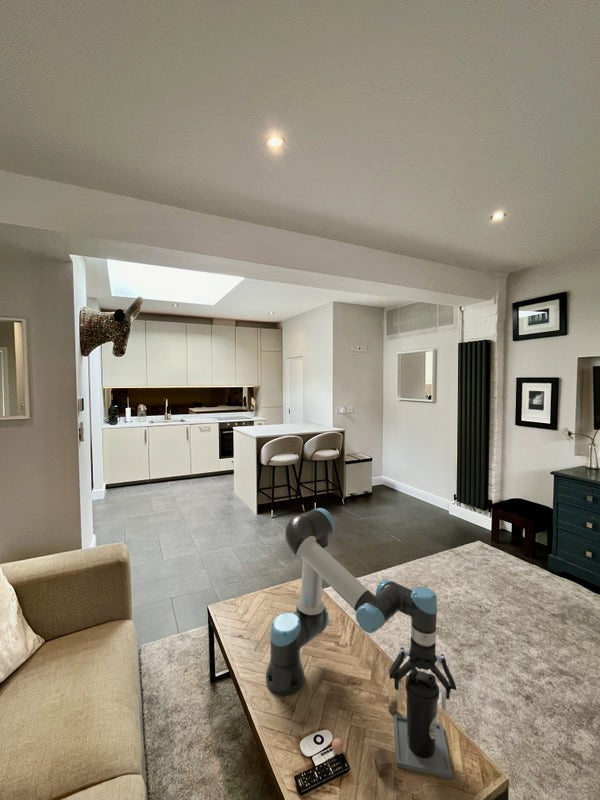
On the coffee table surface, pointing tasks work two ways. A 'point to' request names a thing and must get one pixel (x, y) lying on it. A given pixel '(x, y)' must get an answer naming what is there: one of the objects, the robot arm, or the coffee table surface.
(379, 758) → the walnut cube
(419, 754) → the water bottle
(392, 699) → the cylinder
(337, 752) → the rubber ball
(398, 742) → the tray
